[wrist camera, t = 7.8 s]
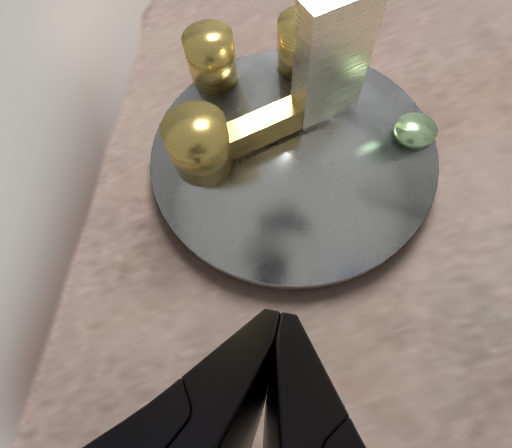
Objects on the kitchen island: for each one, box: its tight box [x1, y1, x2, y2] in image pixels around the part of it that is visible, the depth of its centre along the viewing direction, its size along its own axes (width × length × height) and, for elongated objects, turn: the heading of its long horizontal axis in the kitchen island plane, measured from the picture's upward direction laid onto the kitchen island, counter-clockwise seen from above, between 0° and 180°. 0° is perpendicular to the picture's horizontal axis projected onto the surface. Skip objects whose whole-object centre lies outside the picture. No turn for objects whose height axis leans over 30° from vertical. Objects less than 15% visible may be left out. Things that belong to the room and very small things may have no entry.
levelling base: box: [150, 5, 439, 290], centre depth 25 cm, size 22×22×5 cm
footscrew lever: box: [160, 0, 387, 187], centre depth 22 cm, size 15×4×9 cm, turn 117°
